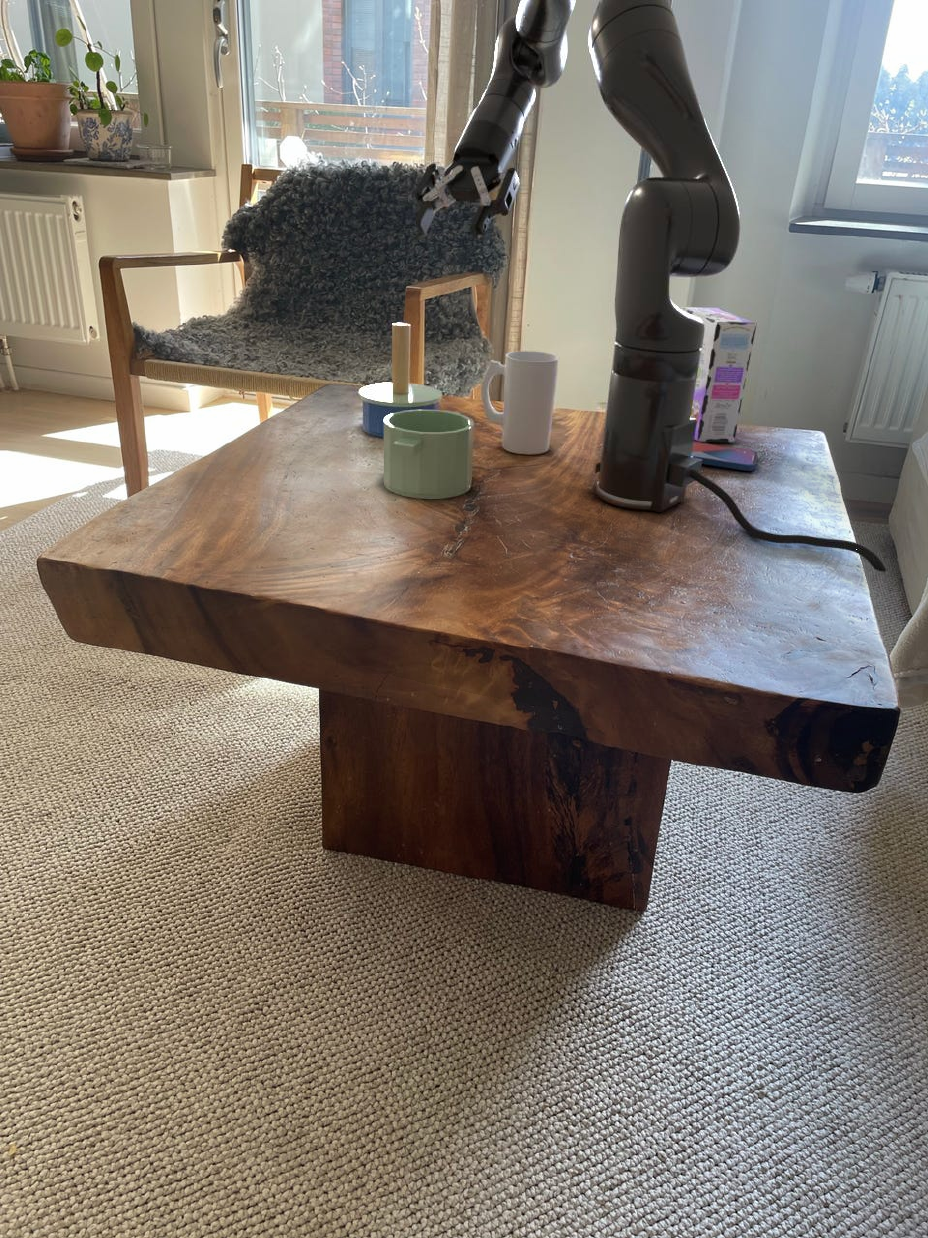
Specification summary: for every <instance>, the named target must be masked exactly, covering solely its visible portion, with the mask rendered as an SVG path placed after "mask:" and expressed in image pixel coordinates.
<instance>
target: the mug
mask: <svg viewBox="0 0 928 1238" xmlns="http://www.w3.org/2000/svg"><path fill="white" fill-rule="evenodd" d="M559 359H560V357H559V356H557V355H555V354H552V353H549V352H542V351H535V350H534V351H533V350H518V351H511V352H507V353H505V364H501V362H500V361H498V360H493V359H491V360H489V364H488V366H487V369H486V370H485V372H484V375H483V377H482V380H481V383H480V398H481V403H482V407H483V410H484V413H485V417H486V419H487V422H488V423H491V424H492V423H493V424H498V425H499V426H501V427H502V436H501V438H502V440H501V446H502V449H504V450H505V451H507V452H510V453H513V454H517V455H528V456H529V455H541V454H544V453H546V452H548V451H549V449H550V442H551V441H550V440H551V433H552V423H553V416H554V415H553V414H554V404H555V395H556V389H557V380H558V369H559ZM496 375H501V376H503V377H504V385H503V387H504V388H503V409H502V410H503V411H502V412H499V411H496V409H495V408H494V407H493V405H492V402H491V399H490V384H491V381H492V379H493V378H494V376H496Z"/></svg>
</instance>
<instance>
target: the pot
mask: <svg viewBox="0 0 928 1238" xmlns="http://www.w3.org/2000/svg"><path fill="white" fill-rule="evenodd" d="M474 441H475V421H474V419H472V418H471V417H469V416H467V415H465V414H462V413H461V412H459V411H452V410H440V409H439V410H422V409H420V410H419V409H418V410H406V411H400V412H396V413H392V414H390V415H388V416H386V417H385V418H384V438H383V486H384V488H386V489H387V490H388V491H389V492H391V493H393V494H396V495H398V496H402V497H406V498H413V499H419V500H444V499H450V498H456V497H458V496H462V495H464V494H466V493H468V491H470V490H471V487H472V484H473V483H472V481H473V462H474Z"/></svg>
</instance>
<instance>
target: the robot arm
mask: <svg viewBox="0 0 928 1238" xmlns="http://www.w3.org/2000/svg"><path fill="white" fill-rule="evenodd" d="M576 1H577V0H519V5H518V8H517V11H516V15H513V16H511V17H509V18H508V19H507V20H506V21H504V22H503V24H502V25H501V27H500V29H499V31H498V34H497V38H496V41H495V48H494V57H493V67H492V72H491V76H490V79H489V82H488V84H487V86H486V89H485V91H484V93H483V94H482V97H481V98H480V101H479V102H478V105H477V106H476V108H475V109H474V110H473V112H472V114H471V115H470V117H469V120H468V122H467V124H466V126H465V128H464V130H463V132H462V135H461V137H460V139H459V141H458V143H457V145H456V147H455V149H454V154H453V159H452V162H451V163H450V165H448V166H447V167H446V168H445V169H444V168H443V169H442V168H438V165H437V164H436V163H434V162H431V163H430V164H429V165H428V166H427V168H426V170H425V172H424V173H423V175H422V177H421V178H420V181H419V183H418V184H417V186H416V188H415V190H414V191H413V197H414V199H415V201H416V203H417V205H418V207H419V210H418V212H417V214H416V216H415V218H414V222H415V226H416V227H417V229H418V231H419V233H420V234H424V235H426V234H427V233H428V230H429V228H430V226H431V224H432V222H433V220H434V218H435V216H436V213H437V212H438V211H440V209H442V208H443V207H445V208H448V207H450V206H451V205H453V204H454V203H455V202H457V203H460V202H461V203H462V202H469V203H473V204H475V203H476V202H478V201H481V203H482V205H479V207H478V209H477V211H476V213H475V215H474V217H473V220H472V222H471V224H470V226H469V227H470V228H469V229H470V230H469V231H470V233H471V235H472V237H473V239H478V240H480V238H481V237H482V236H483V235H484V234H485V233H486V232H487V229H488V228H489V225H490V223H491V221H492V219H494V218H495V217H496V216H498V215H501V216H502V217H506V216H507V215H509V214H510V211H511V209H512V206H513V203H514V201H515V198H516V195H517V193H518V190H519V187H520V185H521V183H520V179H519V177H518V173H517V171H516V168H515V167H510V168H508V166H509V164H510V162H511V160H512V158H513V155H514V153H515V151H516V149H517V146H518V144H519V142H520V140H521V136H522V132H523V129H524V127H525V125H526V123H527V120H528V119H529V117H530V114H531V111H532V109H533V107H534V105H535V103H536V97H537V94H536V89H535V87H536V88H538V89H548V88H550V87H552V86H554V85H556V83H557V82H558V81H559V80H560V78H561V77H562V75H563V73H564V70H565V68H566V65H567V60H568V52H569V51H568V50H569V47H568V46H569V44H568V42H569V41H568V31H567V30H568V29H567V28H568V25H569V22H570V19H571V18H572V14H573V11H574V9H575V5H576ZM588 50H589V51H588V52H589V57H590V59H591V64H592V67H593V71H594V75H595V79H596V83H597V86H598V90H599V93H600V96H601V98H602V101H603V103H604V105H605V107H606V108H607V110H608V112H609V113H610V114H611V115H612V116H613V118H614V119H615V121H616V122H617V123H618V124H619V126H621V128H622V129H624V131H625V132H626V133H627V134H628V135H629V136H630V137H631V138H632V139H633V140H634V142H636V143H637V144H638V146H640V147H641V149H642V150H643V151H644V152H645V153H646V154H647V155H648V156H649V157H650V158H651V160H652V161H653V162H654V164H655V165H656V166H657V168H658V170H659V171H660V173H661V175H662V176H651V177H646V178H643V179H641V180H640V181H638V182H637V183H635V185H634V186H633V187H632V189H631V190H630V192H629V194H628V196H627V198H626V201H625V204H624V207H623V211H622V213H621V220H620V225H619V226H620V227H619V234H618V235H619V237H618V249H617V268H616V279H615V280H616V281H615V282H616V283H615V293H614V294H615V295H614V319H615V336H614V343H613V353H612V362H611V370H610V377H609V386H608V396H607V404H606V412H605V420H604V429H603V435H602V436H603V437H602V446H601V455H600V462H598V463H596V464H595V469H594V474H597V473H598V476H597V477H598V478H597V479H598V480H597V483H596V490H595V493H596V495H597V497H598V498H599V499H601V500H602V501H604V502H606V503H608V504H609V505H610V504H611V505H614V506H616V507H620V508H624V509H631V510H640V511H641V510H642V511H652V512H654V513H655V512H656V513H662V512H664V511H666V510H667V509H670V508H672V507H674V506H676V505H677V504H679V503H680V502H682V501H683V502H684V500H685V496H686V492H687V491H686V490H687V486H688V485H690V484H692V483H695V482H697V483H698V484H700V485H702V486H703V487H705V488H706V489H707V490H709V491H710V492H711V493H713V494H714V495H715V496H717V497H718V498H719V499H720V500H721V501H722V502H723V503H724V504H725V506H726V507H727V508H728V510H729V512H730V513H731V515H732V517H733V519H734V520H735V521H736V522H737V523H738V525H739V526H741V528H742V529H743V530H744V531H746V532H747V533H748V534H749V535H750V536H752V537H754V538H756V539H758V540H762V541H765V542H769V543H774V544H782V545H783V544H784V545H785V544H790V545H791V544H795V545H796V544H799V545H809V546H814V547H819V548H820V547H821V548H829V549H830V548H831V549H840V550H846V551H850V552H853V553H856V554H858V555H859V556H861V557H863V558H864V559H865V560H867V562H868V563H869V564H870V565H871V566H872V567H873V569H874V570H876V571H878V572H882V573H885V572H887V569H886V567H885V565H884V563H883V562H882V560H881V559H880V558H879V556H877V554H875V552H873V551H872V550H871V549H870V548H868V547H866V546H865V545H862V544H861V543H858V542H854V541H851V540H845V539H837V538H827V537H826V538H825V537H818V536H812V535H806V534H805V535H804V534H778V533H772V532H769V531H764V530H762V529H759V528H757V527H756V526H754V525H753V524H752V523H751V522H750V521H748V519H747V518H746V517H745V516H744V515H743V513H742V512H741V510H740V509H739V506H738V505H737V504H736V502H735V500H734V499H733V498H732V497H731V496H730V494H728V493H727V492H726V491H725V490H724V489H723V488H722V487H720V486H719V485H718V484H716V483H715V482H713V481H712V480H710V479H709V478H707V477H706V476H704V475H703V474H702V473H701V469H702V465H703V464H702V459H698V458H694V457H692V456H691V455H692V449H693V443H694V442H695V439H694V437H695V431H696V425H697V420H696V419H695V418H692V417H691V411H692V405H693V398H694V392H695V386H696V379H697V374H698V368H699V361H700V355H701V349H702V345H703V339H704V331H705V326H704V323H703V321H702V320H701V319H700V318H699V317H697V316H695V315H692V314H690V313H688V312H685V311H683V310H681V308H679V307H678V306H677V305H676V304H675V303H674V302H673V301H672V299H671V296H670V282H671V281H670V278H705V277H710V276H714V275H717V274H720V273H722V272H723V271H724V270H726V269H727V268H728V267H729V265H730V264H731V263H732V261H733V260H734V258H735V256H736V254H737V251H738V247H739V244H740V243H739V242H740V234H741V221H740V210H739V205H738V201H737V198H736V194H735V191H734V188H733V186H732V183H731V180H730V177H729V176H728V172H727V171H726V168H725V166H724V163H723V161H722V159H721V156H720V153H719V152H718V149H717V148H716V145H715V143H714V140H713V138H712V135H711V133H710V131H709V128H708V125H707V123H706V120H705V117H704V114H703V111H702V108H701V104H700V102H699V98H698V96H697V93H696V90H695V86H694V83H693V79H692V76H691V73H690V70H689V65H688V62H687V57H686V54H685V48H684V45H683V40H682V38H681V34H680V29H679V27H678V24H677V20H676V17H675V14H674V12H673V7H672V5H671V2H670V0H599V1H598V3H597V5H596V8H595V11H594V14H593V17H592V20H591V23H590V26H589V32H588ZM506 170H507V171H506ZM499 186H500V188H499ZM446 188H448V191H449V193H450V194H448V195H447V193H446V191H445V190H446ZM497 188H499V190H498V193H497V195H496V198H495V199H491V196H490V193H492V192H493V191H495V189H497ZM437 197H439V198H438V199H437V200H435V199H436V198H437ZM434 200H435V201H434ZM856 549H857V550H856Z"/></svg>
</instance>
